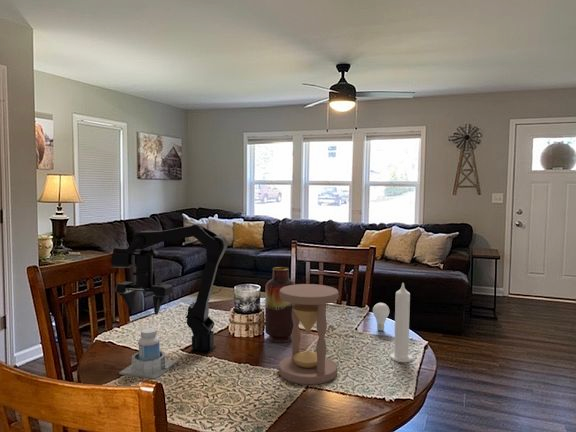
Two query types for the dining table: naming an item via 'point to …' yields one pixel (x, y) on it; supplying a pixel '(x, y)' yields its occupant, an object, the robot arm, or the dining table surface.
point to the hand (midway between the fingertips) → (144, 313)
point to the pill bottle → (149, 345)
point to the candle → (401, 326)
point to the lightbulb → (380, 314)
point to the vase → (278, 308)
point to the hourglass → (307, 311)
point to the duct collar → (148, 367)
